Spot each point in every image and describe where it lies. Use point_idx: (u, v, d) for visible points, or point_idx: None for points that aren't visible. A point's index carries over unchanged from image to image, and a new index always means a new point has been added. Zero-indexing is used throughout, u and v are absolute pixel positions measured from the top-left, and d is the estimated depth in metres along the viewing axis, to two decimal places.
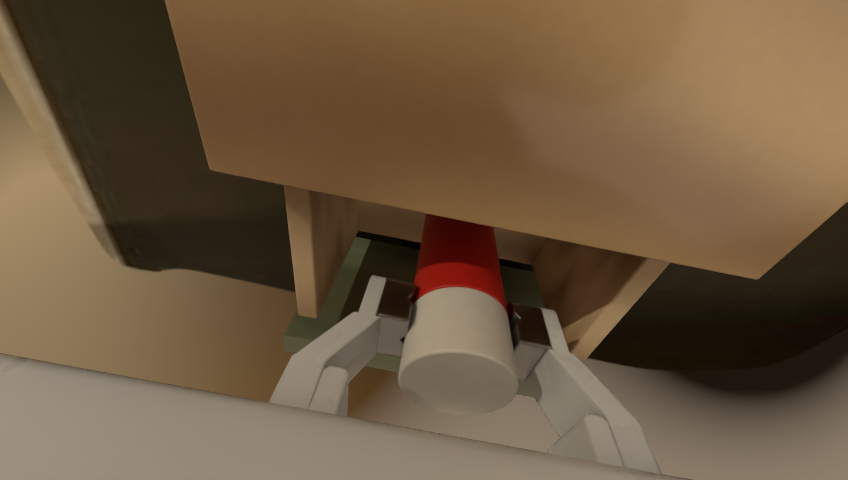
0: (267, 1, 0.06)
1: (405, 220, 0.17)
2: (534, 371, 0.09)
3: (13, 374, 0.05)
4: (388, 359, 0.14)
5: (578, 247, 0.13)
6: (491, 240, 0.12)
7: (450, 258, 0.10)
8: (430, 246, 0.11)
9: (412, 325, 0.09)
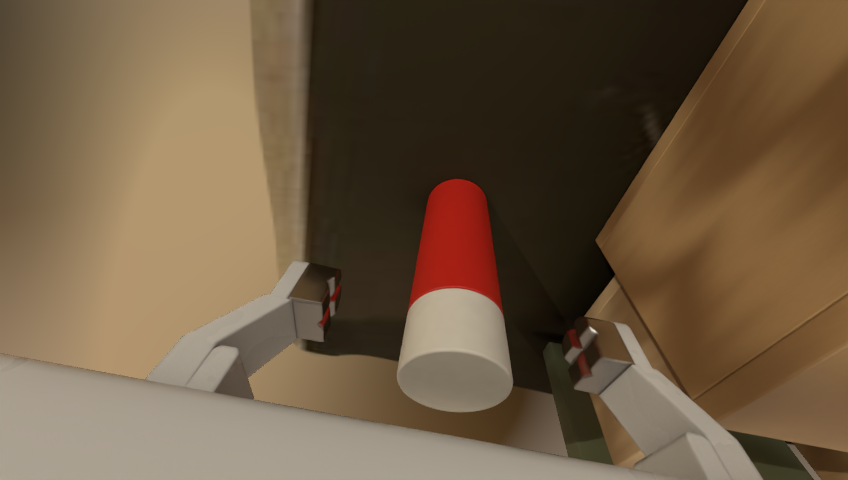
0: None
1: None
2: (612, 386, 0.09)
3: (13, 374, 0.05)
4: None
5: None
6: (488, 242, 0.12)
7: (448, 260, 0.10)
8: (429, 248, 0.11)
9: (410, 325, 0.09)
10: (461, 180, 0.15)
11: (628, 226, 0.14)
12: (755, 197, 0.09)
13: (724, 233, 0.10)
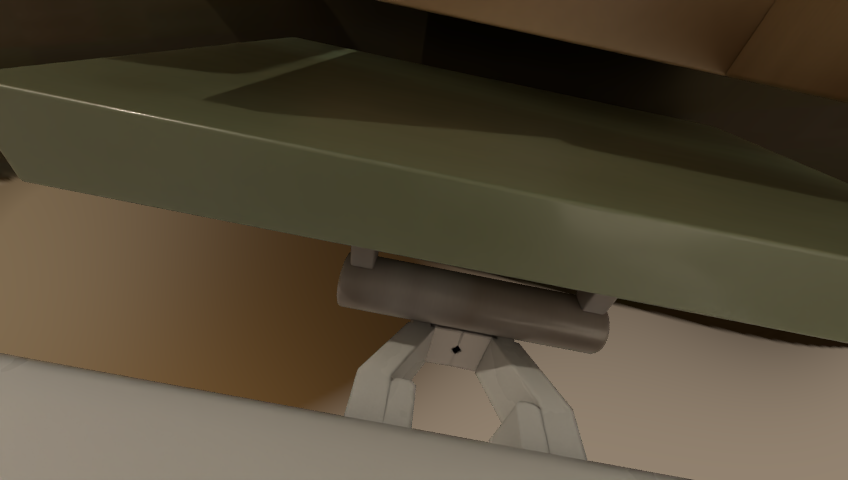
0: None
1: None
2: (482, 361, 0.09)
3: (13, 374, 0.05)
4: (407, 194, 0.03)
5: None
6: None
7: None
8: None
9: None
10: None
11: None
12: None
13: None
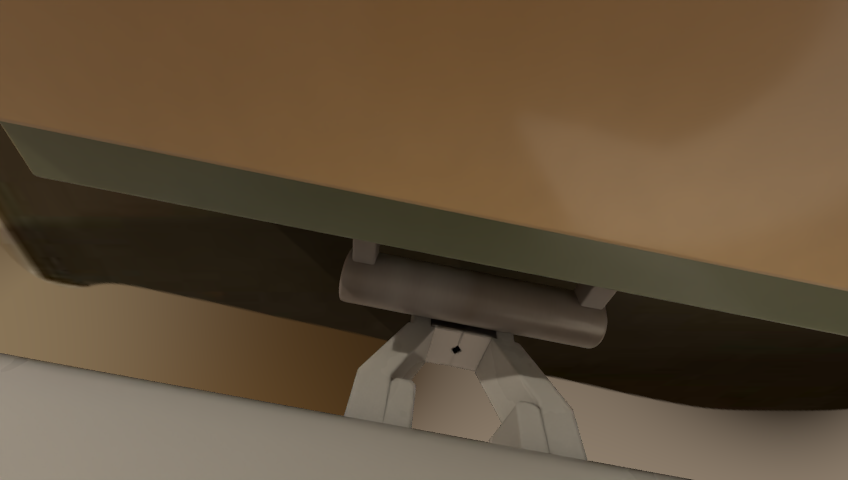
0: None
1: None
2: (482, 361, 0.09)
3: (13, 374, 0.05)
4: None
5: None
6: None
7: None
8: None
9: None
10: None
11: None
12: None
13: None
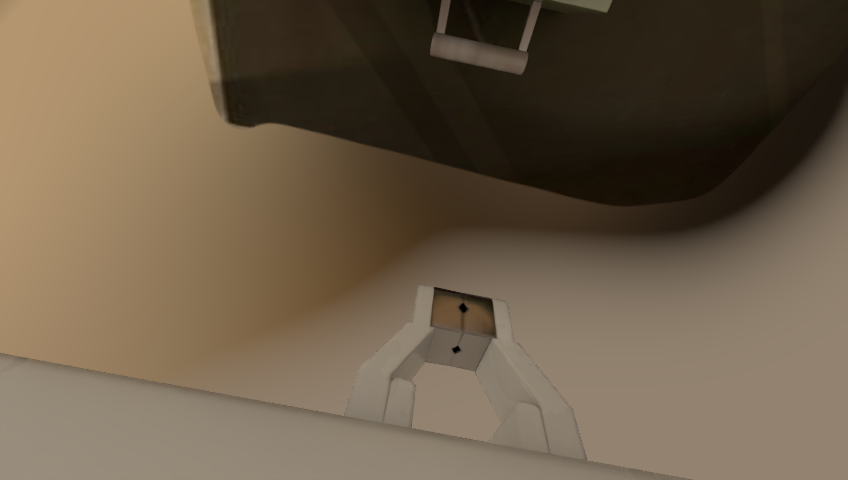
0: None
1: None
2: (482, 361, 0.09)
3: (13, 374, 0.05)
4: None
5: None
6: None
7: None
8: None
9: None
10: None
11: None
12: None
13: None
